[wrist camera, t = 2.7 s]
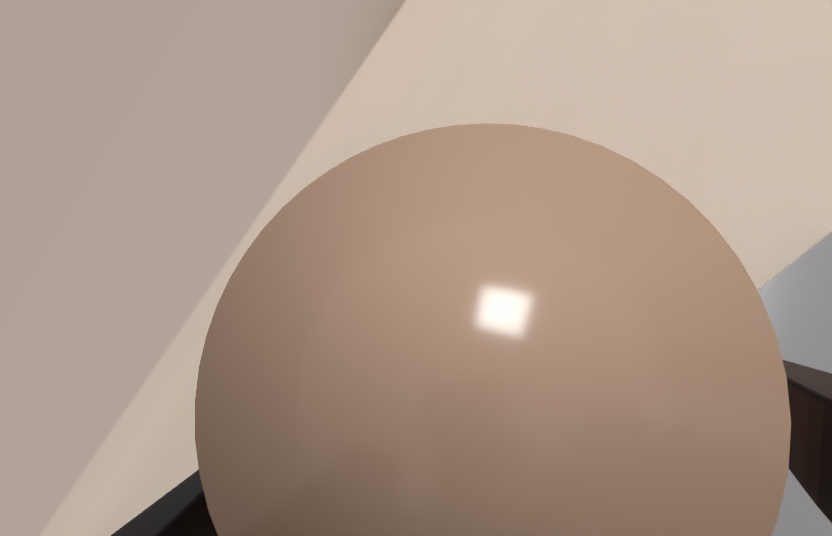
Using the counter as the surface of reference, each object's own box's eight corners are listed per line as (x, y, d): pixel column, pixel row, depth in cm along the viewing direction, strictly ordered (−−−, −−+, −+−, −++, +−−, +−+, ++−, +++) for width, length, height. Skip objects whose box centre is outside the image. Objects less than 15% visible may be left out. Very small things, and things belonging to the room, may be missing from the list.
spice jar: (612, 458, 14) (975, 400, 3) (484, 563, 13) (351, 957, 2) (507, 335, 16) (493, 60, 6) (395, 418, 16) (140, 296, 5)
